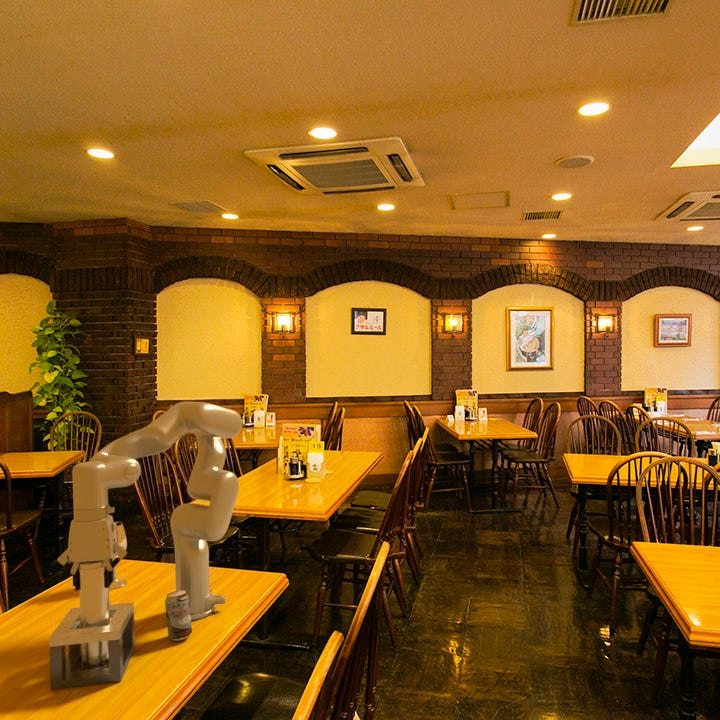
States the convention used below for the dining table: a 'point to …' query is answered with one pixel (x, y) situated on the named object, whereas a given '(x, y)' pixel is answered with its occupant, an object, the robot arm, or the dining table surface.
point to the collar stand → (73, 635)
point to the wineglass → (123, 543)
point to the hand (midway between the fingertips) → (93, 586)
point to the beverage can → (178, 615)
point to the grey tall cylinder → (94, 611)
